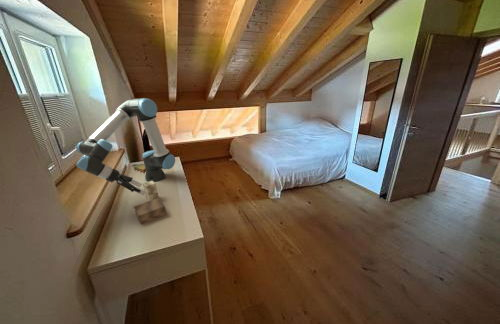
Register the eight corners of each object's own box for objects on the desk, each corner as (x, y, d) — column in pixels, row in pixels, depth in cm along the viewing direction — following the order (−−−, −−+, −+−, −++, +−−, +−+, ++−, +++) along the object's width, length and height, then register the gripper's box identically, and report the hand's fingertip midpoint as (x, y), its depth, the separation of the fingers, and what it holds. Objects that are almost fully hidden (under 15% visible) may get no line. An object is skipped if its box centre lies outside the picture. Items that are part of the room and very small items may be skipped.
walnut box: (160, 206, 133) (158, 198, 131) (166, 214, 124) (165, 206, 122) (135, 215, 125) (133, 206, 123) (140, 225, 116) (138, 215, 114)
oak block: (155, 196, 145) (152, 180, 141) (159, 199, 141) (155, 183, 137) (146, 199, 141) (142, 183, 137) (150, 202, 137) (146, 186, 133)
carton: (144, 173, 185) (143, 169, 183) (134, 170, 193) (133, 166, 192) (152, 170, 191) (151, 166, 190) (142, 167, 200) (141, 163, 198)
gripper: (103, 172, 131) (135, 187, 144) (105, 186, 111) (142, 202, 125) (111, 162, 132) (142, 178, 145) (114, 175, 112) (150, 191, 126)
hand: (142, 189), depth 135 cm, fingers open, 13 cm apart
